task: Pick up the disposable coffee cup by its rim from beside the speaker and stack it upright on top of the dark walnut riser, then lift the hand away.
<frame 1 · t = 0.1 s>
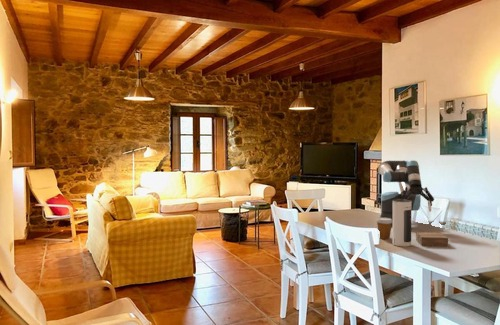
hand: (418, 210, 262), 15 cm above the table, tool tilted 35°, fingers open, 13 cm apart
speaker: (401, 244, 237), on the table
walnut riser: (431, 243, 239), on the table
disposable coffee cup: (384, 238, 253), on the table
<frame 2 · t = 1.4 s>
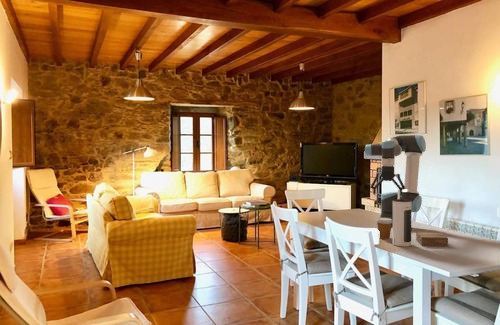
hand: (387, 200, 252), 23 cm above the table, tool pointing down, fingers open, 13 cm apart
nothing on the table moved.
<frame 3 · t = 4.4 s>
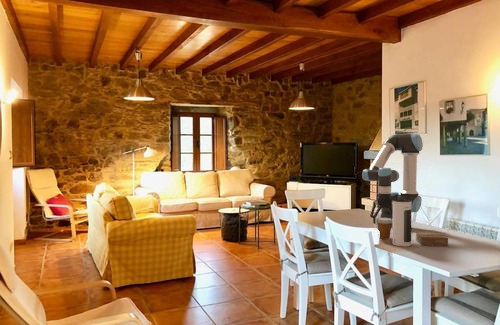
hand: (384, 229, 253), 6 cm above the table, tool pointing down, fingers closed on disposable coffee cup, 9 cm apart
disposable coffee cup: (384, 238, 253), on the table, touching gripper
everything else where it was.
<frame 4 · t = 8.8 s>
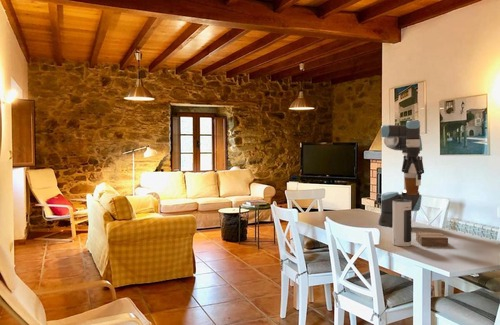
hand: (412, 184, 243), 34 cm above the table, tool pointing down, fingers closed on disposable coffee cup, 9 cm apart
disposable coffee cup: (412, 194, 243), point 28 cm above the table, touching gripper
everything else where it was.
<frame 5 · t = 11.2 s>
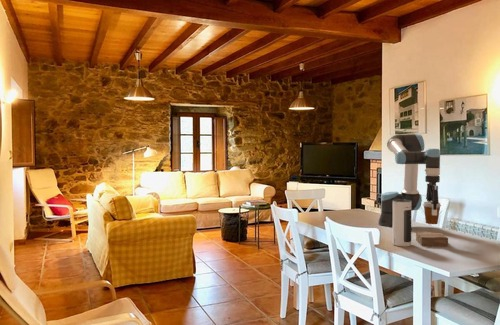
hand: (431, 213, 238), 17 cm above the table, tool pointing down, fingers closed on disposable coffee cup, 9 cm apart
disposable coffee cup: (431, 223, 238), point 12 cm above the table, touching gripper
everything else where it was.
when the fingers open (11 cm above the table, at t = 13.5 s): disposable coffee cup stays where it is, resting on walnut riser.
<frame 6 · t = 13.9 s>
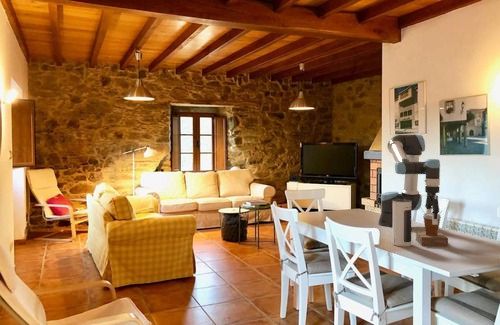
hand: (431, 222, 238), 12 cm above the table, tool pointing down, fingers open, 13 cm apart
disposable coffee cup: (431, 235, 239), point 5 cm above the table, touching walnut riser
everything else where it was.
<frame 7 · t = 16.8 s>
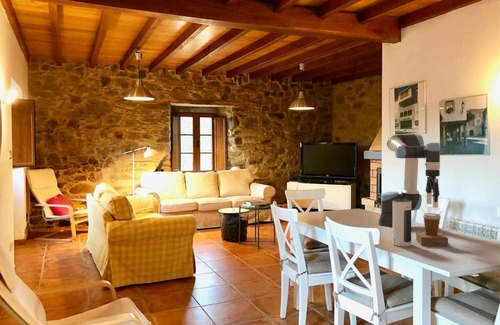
hand: (432, 205, 238), 22 cm above the table, tool pointing down, fingers open, 13 cm apart
nothing on the table moved.
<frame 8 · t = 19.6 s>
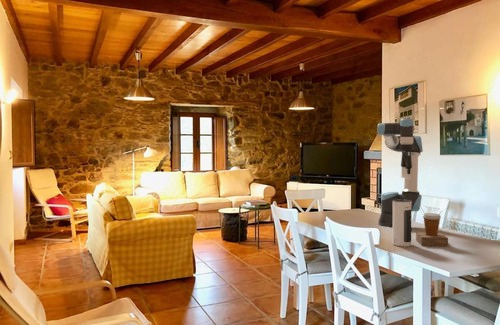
hand: (406, 178, 252), 37 cm above the table, tool pointing down, fingers open, 13 cm apart
nothing on the table moved.
at the end: disposable coffee cup inside the target area on the walnut riser (0.1 cm from its centre), point 4.8 cm above the walnut riser's base; disposable coffee cup tilted 0°; the gripper is holding nothing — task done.
